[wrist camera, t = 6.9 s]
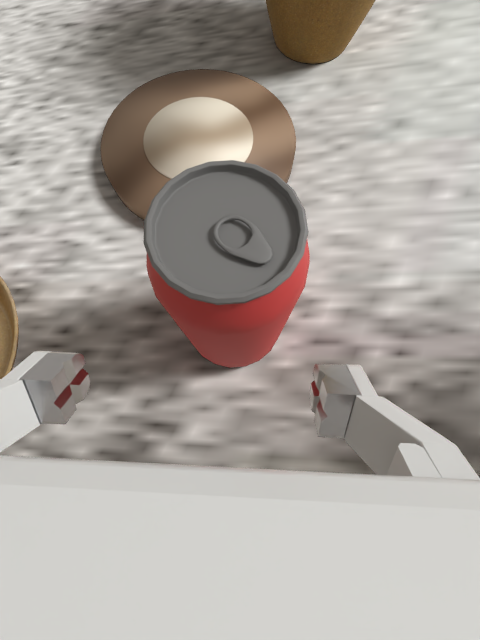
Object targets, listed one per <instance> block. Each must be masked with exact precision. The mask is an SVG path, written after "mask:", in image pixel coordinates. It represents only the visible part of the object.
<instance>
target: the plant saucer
mask: <svg viewBox="0 0 480 640" xmlns="http://www.w3.org/2000/svg"><path fill="white" fill-rule="evenodd" d="M18 333H19V328H18V316H17V311H16V307H15V303H14V300H13V297H12V295H11V292H10V290H9V288H8V287H7V285H6V283H5V282H4V280H3V279H2V278H1V277H0V379H2V378H3V377H5V376H6V375H7V374H8V373H9V372H10V371H12V368H13V365H14V361H15V357H16V353H17V347H18Z"/></svg>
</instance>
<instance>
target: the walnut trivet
mask: <svg viewBox="0 0 480 640" xmlns="http://www.w3.org/2000/svg"><path fill="white" fill-rule="evenodd" d="M295 149H296V136H295V130H294V126H293V123H292V120H291V118H290V116H289V114H288V112H287V110H286V109H285V107H284V106H283V104H282V103H281V102H280V101H279V100H278V99H277V97H276V96H275V95H274V94H272V93H271V92H270V91H269V90H267V89H266V88H265V87H263V86H262V85H260V84H258V83H257V82H255V81H253V80H251V79H248V78H246V77H243V76H241V75H238V74H234V73H230V72H226V71H219V70H208V69H197V70H186V71H179V72H175V73H171V74H167V75H164V76H161V77H158V78H156V79H154V80H152V81H149V82H147V83H145V84H144V85H142V86H140V87H139V88H137V89H136V90H134V91H133V92H132V93H130V94H129V95H128V96H127V97H126V98H125V99H124V100H123V101H122V102H120V104H119V105H118V106H117V107H116V109H115V110H114V111H113V113H112V114H111V116H110V118H109V119H108V121H107V124H106V126H105V128H104V131H103V135H102V140H101V159H102V163H103V167H104V170H105V173H106V175H107V177H108V179H109V181H110V183H111V184H112V186H113V188H114V190H115V191H116V193H117V194H118V196H119V198H120V199H121V201H122V202H123V203H124V204H125V205H126V206H127V207H128V208H129V209H130V210H131V211H132V212H133V213H134V214H136V215H137V216H138V217H140V218H141V219H143V220H145V217H146V215H147V212H148V209H149V207H150V204H151V202H152V199H153V198H154V197H155V196H156V195H157V193H158V192H159V191H160V190H161V189H162V187H163V186H164V185H165V184H166V183H167V182H168V181H169V180H171V179H172V178H174V177H175V176H177V175H178V174H180V173H181V172H183V171H184V170H186V169H188V168H191V167H194V166H197V165H200V164H203V163H206V162H211V161H226V160H235V161H240V162H246V163H251V164H256V165H258V166H260V167H262V168H264V169H266V170H268V171H270V172H272V173H275V174H277V175H278V176H279V177H280V178H281V179H282V180H283V181H284V182H286V183H287V182H288V179H289V176H290V174H291V169H292V165H293V160H294V154H295Z"/></svg>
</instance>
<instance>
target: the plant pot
mask: <svg viewBox="0 0 480 640" xmlns="http://www.w3.org/2000/svg"><path fill="white" fill-rule="evenodd" d="M374 2H375V0H266V4H267V9H268V14H269V18H270V23H271V27H272V31H273V36H274V40H275V43H276V45H277V47H278V49H279V50H280V51H281V52H282V53H283V54H284V55H285V56H287V57H289V58H290V59H292V60H295V61H298V62H302V63H311V64H315V63H323V62H327V61H330V60H332V59H334V58H336V57H337V56H339V55H340V54H341V53H342V52H343V51H344V49H345V48H346V46H347V45H348V43H349V42H350V40H351V39H352V37H353V36H354V34H355V32H356V31H357V29H358V28H359V26H360V25H361V23H362V21H363V20H364V18H365V17H366V15H367V13H368V12H369V10H370V8H371V7H372V5H373V3H374Z"/></svg>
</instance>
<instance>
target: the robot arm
mask: <svg viewBox="0 0 480 640" xmlns="http://www.w3.org/2000/svg"><path fill="white" fill-rule="evenodd" d="M85 364H86V363H85V359H84V356H83V355H82V354H80V353H69V352H54V351H52V352H51V351H35V352H33V353H32V354H31V355H29V356H28V357H27V358H26V359H25V360H23V361H22V362H21V363H20V364H19V365H18V366H16V367H15V368H14V369H13V370H12V371H10V372H9V373H8V374H7V375H6V376H5V377H3V378H2V379H0V452H1V451H3V450H4V449H6V448H7V447H9V446H10V445H12V444H13V443H14V442H16V441H17V440H19V439H20V438H22V437H23V436H25V435H26V434H28V433H29V432H31V431H32V430H33V429H35V428H36V427H38V426H39V425H40V424H66V423H67V422H68V420H69V419H70V418H71V416H72V415H73V414H74V412H75V411H76V404H77V403H79V402H80V401H82V400H84V398H85V397H86V395H87V394H88V391H89V387H90V378H89V374H88V373H87V372H86V371H85V370H84V369H83V367H84V365H85ZM313 376H314V381H313V382H312V383H311V387H310V405H311V410H312V411H313V412H314V413H315V418H314V422H315V426H316V430H317V434H318V437H330V438H343V439H344V440H345V441H346V442H347V443H348V445H349V446H350V447H351V448H352V449H353V450H354V451H355V452H356V453H357V454H358V455H359V456H360V458H361V459H362V460H363V461H364V462H365V463H366V464H367V465H368V466H369V467H370V468H371V470H372V471H373V472H374V473H375V474H376V475H373V474H354V473H334V472H315V471H296V470H276V469H257V468H238V467H218V466H199V465H180V464H161V463H142V462H123V461H103V460H83V459H63V458H42V457H23V456H4V455H0V640H480V478H479V476H478V475H477V474H476V472H475V471H474V469H473V468H472V467H471V465H470V464H469V462H468V461H467V460H466V458H465V457H464V456H463V454H462V453H461V451H460V450H459V449H458V447H457V446H456V445H455V444H454V443H452V442H451V441H449V440H448V439H446V438H445V437H443V436H442V435H440V434H439V433H437V432H436V431H434V430H433V429H431V428H430V427H428V426H427V425H425V424H423V423H422V422H420V421H419V420H417V419H416V418H414V417H413V416H411V415H410V414H408V413H407V412H405V411H404V410H402V409H401V408H399V407H398V406H396V405H395V404H393V403H392V402H390V401H389V400H387V399H386V398H384V397H379V396H378V395H377V393H376V391H375V390H374V388H373V386H372V384H371V382H370V380H369V379H368V377H367V375H366V373H365V371H364V370H363V368H362V366H361V365H350V364H345V365H335V364H315V366H314V370H313Z"/></svg>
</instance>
